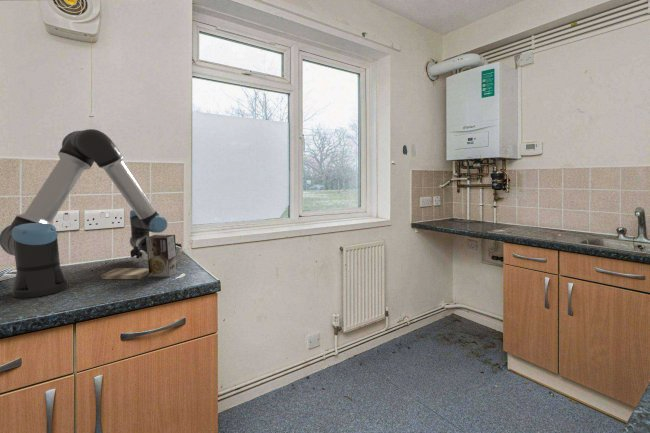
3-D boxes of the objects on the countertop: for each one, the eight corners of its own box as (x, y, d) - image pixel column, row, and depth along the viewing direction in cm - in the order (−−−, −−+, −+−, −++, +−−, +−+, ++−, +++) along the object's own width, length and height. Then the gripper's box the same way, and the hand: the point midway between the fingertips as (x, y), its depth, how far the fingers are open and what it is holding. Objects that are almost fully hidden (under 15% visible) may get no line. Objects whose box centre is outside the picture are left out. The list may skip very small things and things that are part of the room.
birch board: (101, 279, 132) (100, 275, 132) (116, 271, 142) (116, 268, 142) (139, 278, 133) (139, 275, 132) (152, 271, 143) (151, 268, 142)
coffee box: (178, 272, 141) (176, 234, 139) (169, 277, 135) (167, 237, 133) (157, 271, 142) (155, 234, 140) (148, 276, 136) (145, 237, 134)
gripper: (176, 249, 162) (194, 257, 147) (116, 258, 145) (130, 268, 130) (175, 234, 161) (193, 240, 146) (115, 241, 144) (128, 249, 129)
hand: (163, 253), depth 138 cm, fingers open, 13 cm apart
